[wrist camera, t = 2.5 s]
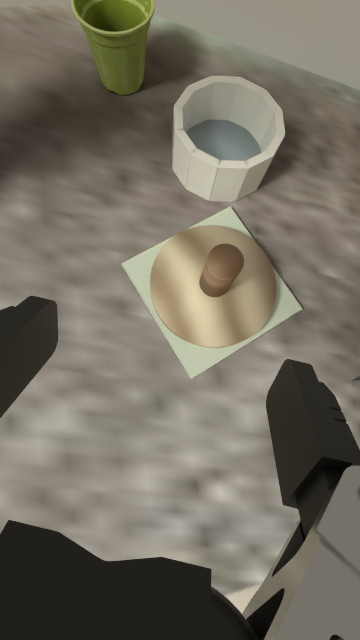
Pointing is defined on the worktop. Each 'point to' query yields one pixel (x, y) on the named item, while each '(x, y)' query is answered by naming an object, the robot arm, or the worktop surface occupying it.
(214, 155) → the bowl
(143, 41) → the plant pot
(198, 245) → the lid
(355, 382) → the citrus juicer
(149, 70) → the worktop surface
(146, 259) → the mat
